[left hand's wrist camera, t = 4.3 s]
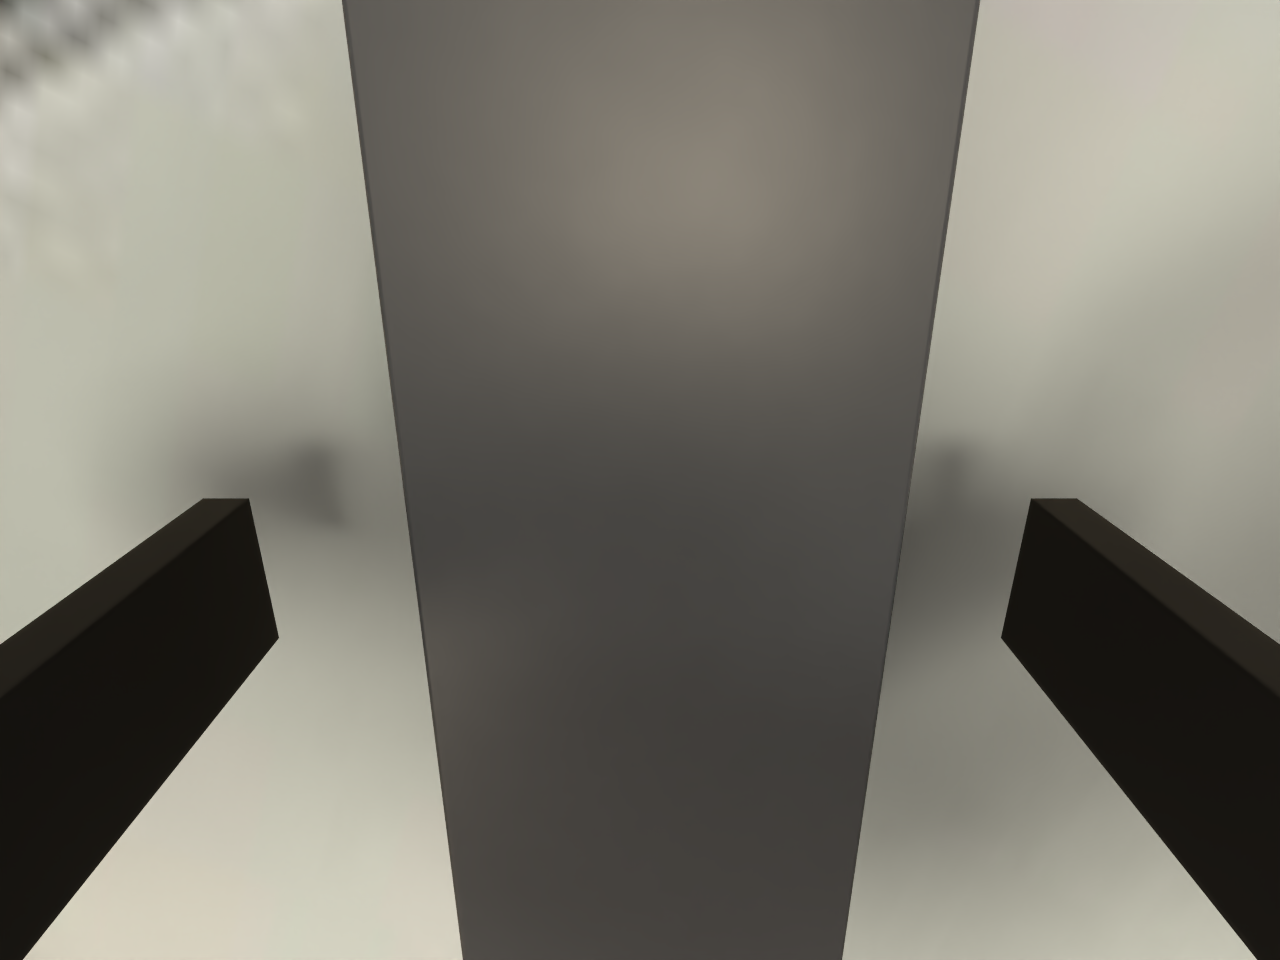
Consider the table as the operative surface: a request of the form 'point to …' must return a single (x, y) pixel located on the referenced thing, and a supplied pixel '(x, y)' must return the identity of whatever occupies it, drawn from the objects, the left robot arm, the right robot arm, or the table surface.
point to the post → (657, 439)
